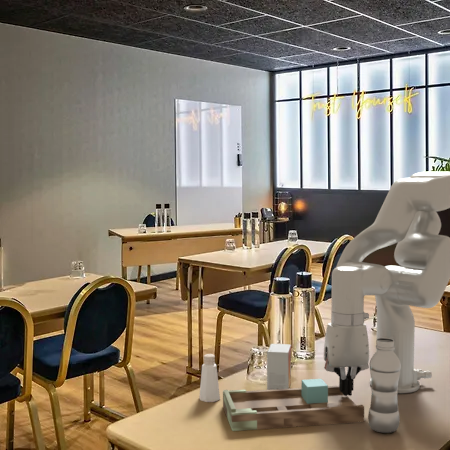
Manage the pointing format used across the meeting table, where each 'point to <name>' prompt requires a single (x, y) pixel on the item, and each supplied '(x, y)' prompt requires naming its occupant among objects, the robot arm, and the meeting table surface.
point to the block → (314, 391)
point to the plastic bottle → (384, 387)
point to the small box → (279, 366)
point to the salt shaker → (209, 380)
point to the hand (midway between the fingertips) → (346, 393)
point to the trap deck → (287, 409)
